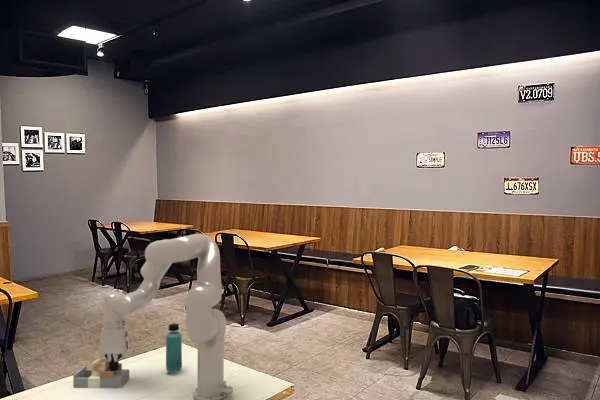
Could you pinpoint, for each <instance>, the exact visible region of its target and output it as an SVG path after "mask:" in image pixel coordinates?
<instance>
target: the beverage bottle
mask: <svg viewBox="0 0 600 400" xmlns="http://www.w3.org/2000/svg"><path fill="white" fill-rule="evenodd" d="M179 329H180V327H179V323H171V324H169V325H168V331H169V332H168V333H167V334H166V336H165V338H166V339H165V340H166V342H165V344H166V345H165V350H166V351H165V369H166V371H168V372H172V373H173V372H174V373H175V372H178V371H181V369H182V367H183V366H182V365H183V362H182V361H183V358H182V352H183V351H182V350H183V347H182V346H183V343H182V333H181V332H180V331H178V330H179Z"/></svg>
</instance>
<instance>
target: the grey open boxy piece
mask: <svg viewBox="0 0 600 400" xmlns="http://www.w3.org/2000/svg"><path fill="white" fill-rule="evenodd" d="M87 366H88V365H85V364H84V365H83V366H81V368H79V369H78V370H77V371H76V372H75V373H73V376H72V377H73V379H72V380H73V385H72V387H73V388H74V389H75V388H76V389H77V388H81V389H82V388H85V389H88V388H89V389H90V388H91V389H96V388H97V389H101V388H102V389H107V388H108V389H121V388H122V387H123V386H124V385H125V384H126V383H127V382H128V380H129V379H130V369H123V364H122V363H120V362H119V367H118V369H117V370H116V371H115V372H114V371H101V372H100V376H92V368H88V367H87Z"/></svg>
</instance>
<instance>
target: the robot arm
mask: <svg viewBox="0 0 600 400" xmlns="http://www.w3.org/2000/svg"><path fill="white" fill-rule="evenodd" d="M220 255H221V254H220V249H219V246H218V244H217V243H216V241H215V240H214V239H213V238H212V237H211V236H209V235H206V234H203V233H193V234H189V235H185V236H180V237H175V238H171V239H167V238H165V239H162V240H155V241H153V242H150V243H149V244H148V245H147V247H146V248H145V250H144V257H145V258H144V259H145V262H144V263H143V265H142V267H141V268H140V275H141V276H142V278H143V281H142V282H141V284H140V285H139V286H138V288H137V289H136V290H135V291H132V292H129V293H126V294H125V293H123V292H122V291H109V292H106V293H105V294H104V295H103V310H102V311H103V317H102V318H103V327H102V328H101V331H100V336H99V337H100V338H99V345H98V347H99V348H98V349H99V356H101V357H104V358H105V359H108V362H109V369H110V371H114V372H115V371H116V370H117V369H118V367H119V363H120V362H119V360H120V359H121V358H125V357H127V356H128V355H129V351H128V350H129V348H130V341H129V332H128V327H127V325H129V321H128V320H125V319H126V318H125V316H129V315H132V314H134V313H136V312H138V311H140V310H143V309H145V308H146V307H148V306H149V304H150V303H151V302H152V300H153V299H154V297H155V296H156V295H157V293H158V292H159V290H160V286H161V280H162V278H163V277H164V276H165V275H166V273H167V271H168V270H169V269H170V267H171V265H172V264H174V263H175V264H176V263H180V262H186V261H190V260H193V259H196V258H197V259H198V263H197V267H196V277H197V278H196V279H197V280H196V285H194V286H193V287H191V288H190V289H189V290H188V292H187V294H186V297H185V303H184V304H185V324H186V325H185V326H186V332H187V336H188V338H189V339H190V340H191V342H193V343H194V344H197V372H196V373H197V379H196V380H197V381H196V382H197V386H196V388H195V389H194V390H193V393H192V397H193V398H194V400H222V399H225V398H226V397H227V395H233V393H234V389H233V388H234V387H233V386H230V385H227V381H226V380H224V376H225V374H224V373H225V372H224V370H225V369H224V368H225V366H224V365H225V364H224V363H225V362H224V361H225V360H224V357H225V354H224V353H225V334H226V330H227V329H226V328H227V320H226V316H225V315H224V313H223V311H221V310H220V309H218V308H213V307H215V306H216V305H217V304H218V303H220V301H221V300H222V295H223V294H222V277H221V276H222V275H221V256H220Z"/></svg>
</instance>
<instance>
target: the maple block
mask: <svg viewBox="0 0 600 400" xmlns="http://www.w3.org/2000/svg"><path fill="white" fill-rule="evenodd" d="M91 369H92V376H100V372H101V371H110V369H109V362H108V359H107V358H97V359H95V360H94V361H93V362H92V363H91Z"/></svg>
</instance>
